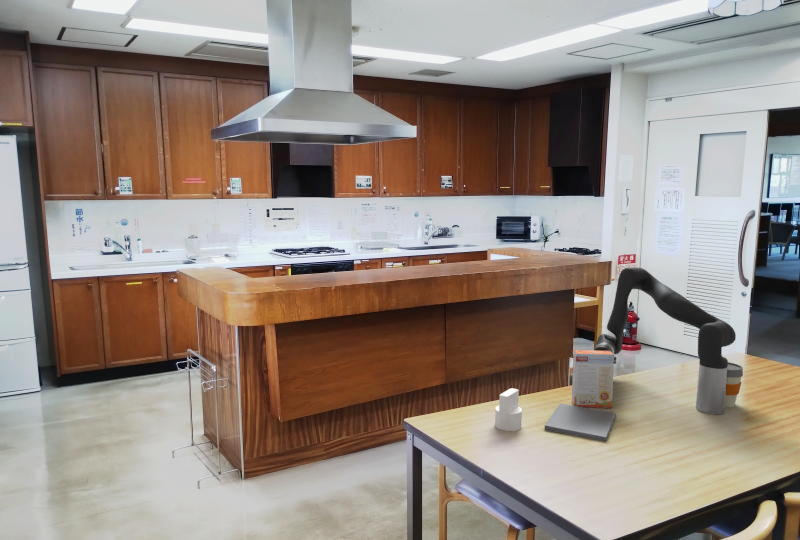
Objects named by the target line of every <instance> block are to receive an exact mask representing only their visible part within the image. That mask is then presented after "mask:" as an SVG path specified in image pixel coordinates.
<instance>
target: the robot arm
mask: <svg viewBox="0 0 800 540" xmlns="http://www.w3.org/2000/svg"><path fill="white" fill-rule="evenodd" d="M632 290H638V291H639V290H640V291H642V292H643V293H645V294H647V295H648V296H650V297H651V298H652V299H653V301H654V304H655V305H656V306H657V308H658V309H659V310H661V312H662V313H665V315H667V316H668V317H670V318H672V319H674V320H676V321H678V322H681V323H684V324H686V325H687V324H688V325H690V326H692V327H695V328H697V329H698V337H697V356H698V359H699V364H698V365H699V366H698V377H697V378H698V379H697V389H696V398H695V399H696V400H695V408H696V410H698V411H699V412H702V413H705V414H709V415H724V414H725V407H724V406H725V395H726V378H727V367H728V362H729V360H728V358H726V357H724V356H722V351H723V350H722V349H723V347H728V346H730V345H732V344H733V343H734V342H735V341H736V338H737V336H736V332H735V330H734V328H733V326H731V325H730V324H729V323H727V322H726V321H724V320H723V319H720V318H718V317H716V316H715V315H713V314H710V313H709V312H707V311H705V310H704V309H702V308H701V307H700V306H698V305H697V304H695V303H694V302H692V301H691V300H689V299H687V298H686V297H685V296H683V295H682V294H680V293H679V292H677V291H675V290H673V289H672V288H670V287H669V286H668V285H666V284H664V283H662V282H661V281H659V280H658V279H657V278H656V277H654V275H652V274H651V273H650V272H648V270H646V269H645V268H642V267H634V266H633V267H631V266H627V267H624V268H623V269H622V270H621V271H620V273H619V275H618V280H617V286H616V291H615V298H614V301H613V302H614V303H613V307H612V310H611V312H610V316H609V319H608V321H607V323H606V324H607V325H606V330H607V331H609V332H610V333H612V334H613V335H614V336H612V335H609V334H607V333H602V334H599V336H598V337H597V340H596V346H595V347H594V349H593V350H595V351H611V352H612V353H613V354H614V355H618V354H619V353H621V352H622V349H623V336H624V330H625V328H626V324H627V322H628V319H629V305H628V303H629V297H630V294H631V292H632ZM616 364H617V356H614V365H616Z"/></svg>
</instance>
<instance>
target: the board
mask: <svg viewBox="0 0 800 540" xmlns="http://www.w3.org/2000/svg"><path fill="white" fill-rule="evenodd" d="M616 418H617V412H612V411H606V410H601V409H594V408H591V407H578V406H574V405H573V404H572V405H571V404H567V403H561V402H560V403H559V404H558V406H557V407H556V408H555V410H554V412H553V413H551V415H550V417H549V418H548V420H547V421H546V423H545V424H544V431H551V432H555V433H559V434H564V433H565V434H566V435H570V436H576V437H580V438H581V437H582V438H585V439H591V440H596V441H601V442H607V440H608V438H607V437H609V434H610V433H609V432H611V430H612V428H613V425H614V422H615V420H616Z"/></svg>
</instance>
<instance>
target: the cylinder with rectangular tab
mask: <svg viewBox="0 0 800 540" xmlns="http://www.w3.org/2000/svg"><path fill="white" fill-rule="evenodd" d="M519 395H520V394H519V389H518V388H513V387H512V388H508V389H507V390H505V391H503V392H502V393H500V394H499V396H498V397H499V400H498V403H499V404H498V405H497V406H495V408H494V409H495V414H494V415H495V416H494V426H495V428H497V429H499V430H501V431H506V432H507V431H508V432H514V431H515V432H516V431H519V430H520V429H521V428H522V421H523V420H522V419H523V409H522V408H521V407H519Z"/></svg>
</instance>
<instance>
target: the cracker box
mask: <svg viewBox="0 0 800 540" xmlns="http://www.w3.org/2000/svg"><path fill="white" fill-rule="evenodd" d="M572 351H573V354H572V355H573V356H572V357H573V358H572V380H571V381H572V382H571V384H572V385H571V403H572V406H578V407H584V408H601V409H602V408H603V409H605V408H607V409H612V406H613V392H614V390H613V388H614V367H615V366H614V365H615V364H614V357H615V354H613V353H612V352H611V351H595V350H594V349H593V350H589V349H585V350H583V349H574V350H572Z"/></svg>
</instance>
